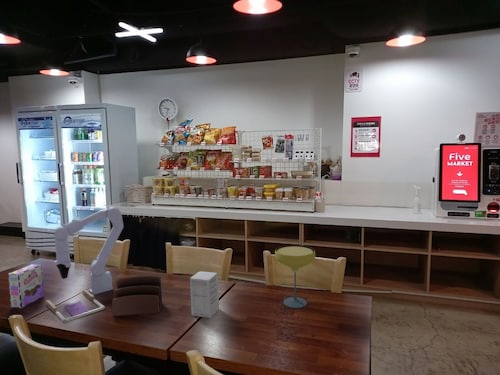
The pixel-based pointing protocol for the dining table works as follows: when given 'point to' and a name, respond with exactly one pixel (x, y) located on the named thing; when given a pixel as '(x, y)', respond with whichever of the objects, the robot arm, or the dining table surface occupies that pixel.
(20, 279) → the candy box
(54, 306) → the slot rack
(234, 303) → the dining table surface
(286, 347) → the dining table surface
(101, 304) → the frame
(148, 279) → the letter holder
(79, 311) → the sponges
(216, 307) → the supplement box
